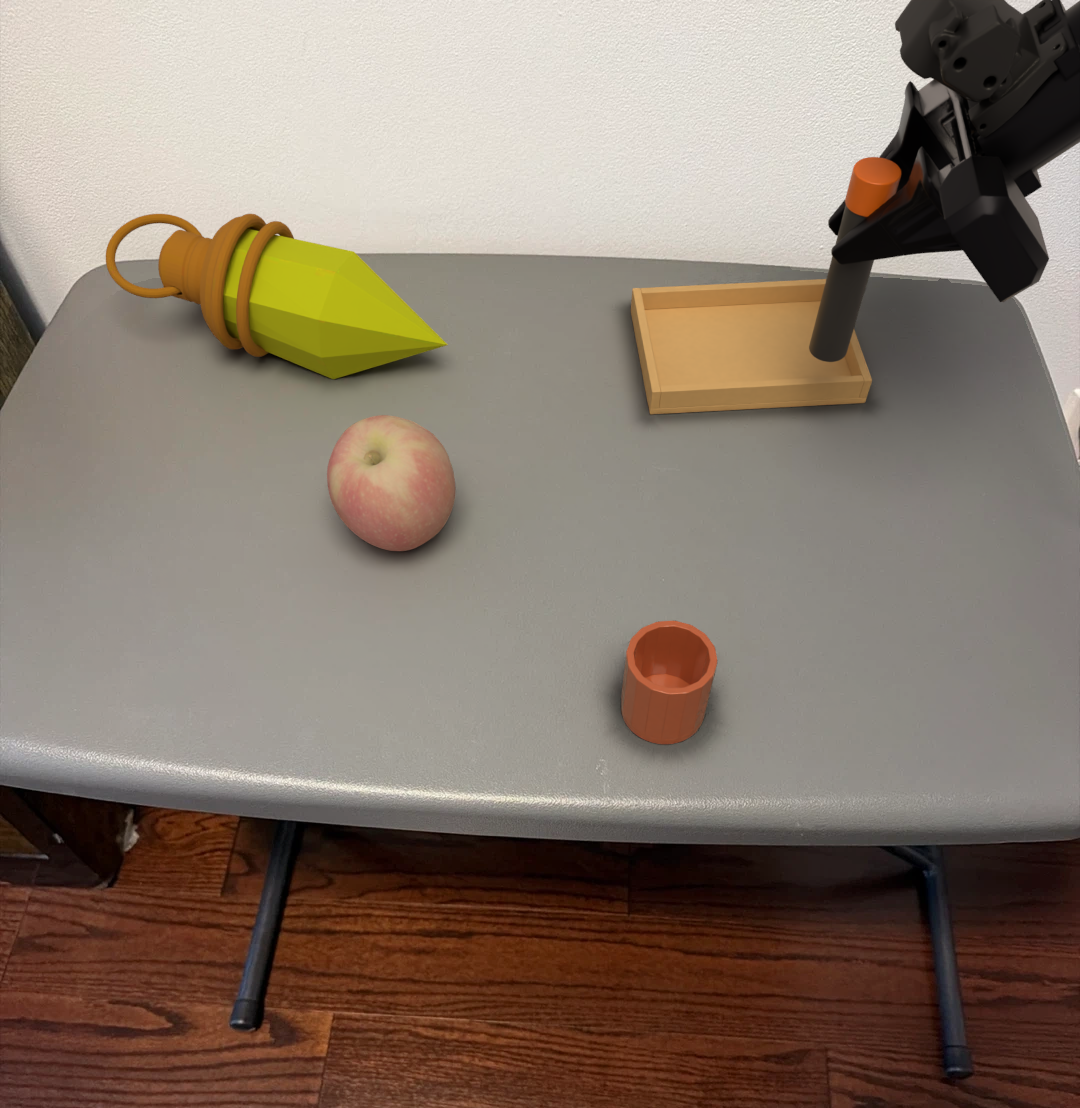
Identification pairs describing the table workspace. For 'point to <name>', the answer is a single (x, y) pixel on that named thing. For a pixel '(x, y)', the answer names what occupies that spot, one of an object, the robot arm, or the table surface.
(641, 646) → the pen cup
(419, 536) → the apple
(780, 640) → the table surface
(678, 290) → the tray
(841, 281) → the cylinder
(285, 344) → the plumb bob
